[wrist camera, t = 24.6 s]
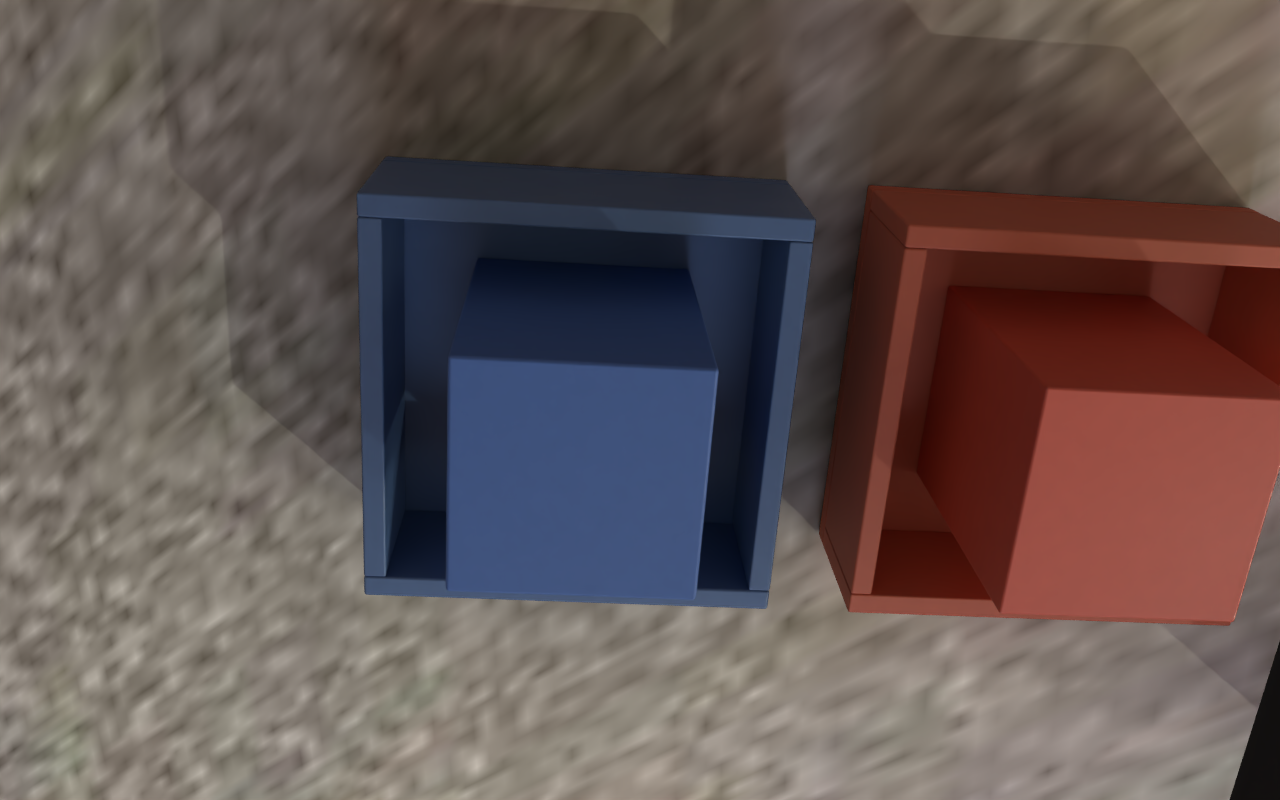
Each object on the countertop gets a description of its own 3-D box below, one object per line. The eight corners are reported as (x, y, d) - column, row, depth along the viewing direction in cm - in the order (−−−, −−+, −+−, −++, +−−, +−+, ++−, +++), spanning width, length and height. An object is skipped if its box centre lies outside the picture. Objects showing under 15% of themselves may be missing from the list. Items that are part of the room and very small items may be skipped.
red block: (947, 284, 35) (1046, 387, 27) (1149, 295, 35) (1301, 400, 28) (915, 472, 37) (999, 614, 30) (1105, 481, 37) (1234, 623, 30)
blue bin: (384, 155, 33) (356, 192, 29) (787, 179, 34) (816, 219, 30) (389, 517, 37) (364, 595, 33) (746, 531, 38) (767, 610, 34)
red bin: (867, 184, 34) (908, 224, 30) (1249, 207, 35) (1341, 249, 31) (818, 534, 38) (847, 612, 34) (1159, 547, 39) (1230, 626, 35)
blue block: (476, 257, 34) (447, 355, 26) (690, 268, 34) (719, 368, 27) (473, 451, 36) (444, 592, 29) (673, 460, 36) (696, 601, 29)
